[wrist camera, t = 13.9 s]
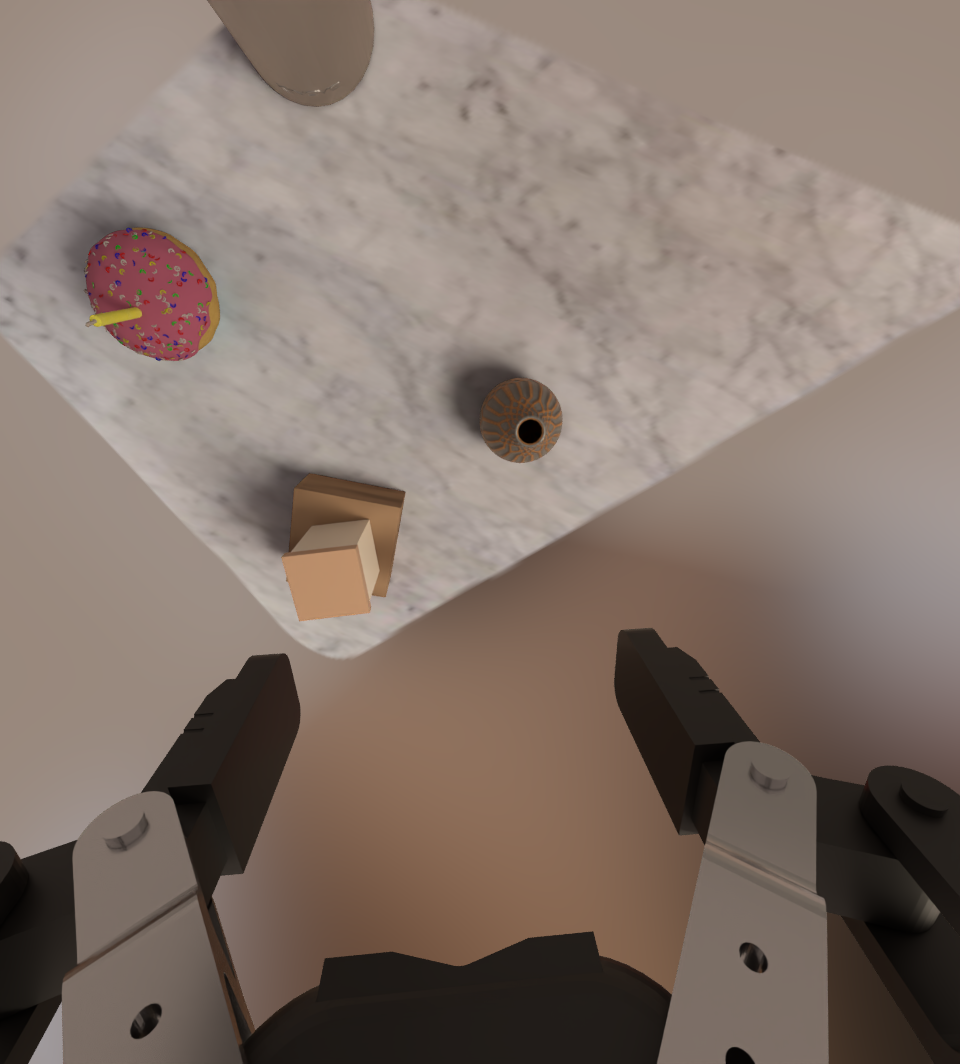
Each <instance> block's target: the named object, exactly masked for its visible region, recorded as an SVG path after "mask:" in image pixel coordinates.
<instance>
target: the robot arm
mask: <svg viewBox="0 0 960 1064" xmlns="http://www.w3.org/2000/svg"><path fill="white" fill-rule="evenodd" d="M207 1H208V2H209V3H210V5H211V6H212V8H213V9H214V10H215V12H216V13H217V15H218V16H219V18H220V19H221V20H222V22H223V23H224V25H225V26H226V28H227V29H228V30H229V32H230V33H231V35H232V36H233V38H234V39H235V41H236V42H237V43H238V45H239V46H240V48H241V49H242V50H243V52H244V53H245V55H246V56H247V58H248V59H249V60H250V62H251V63H252V65H253V66H254V67H255V69H256V70H257V71H258V73H259V74H260V75H261V77H262V78H263V79H264V81H266V82H267V83H268V84H269V85H270V86H271V87H272V88H273V89H274V90H275V91H276V92H278V93H279V94H281V95H282V96H284V97H285V98H287V99H289V100H290V101H293V102H296V103H299V104H301V105H306V106H315V107H319V106H325V105H331V104H333V103H335V102H337V101H340V100H342V99H344V98H345V97H346V96H347V95H348V94H350V93H351V92H352V91H353V90H354V89H355V88H356V86H357V85H358V84H359V82H360V81H361V80H362V78H363V76H364V74H365V72H366V70H367V67H368V65H369V62H370V58H371V54H372V50H373V41H374V21H373V11H372V6H371V1H370V0H207ZM614 687H615V695H616V699H617V703H618V706H619V708H620V711H621V713H622V715H623V717H624V719H625V721H626V723H627V726H628V728H629V730H630V732H631V734H632V736H633V738H634V740H635V743H636V745H637V747H638V749H639V751H640V753H641V755H642V758H643V759H644V762H645V764H646V766H647V768H648V770H649V773H650V775H651V776H652V779H653V781H654V783H655V785H656V787H657V790H658V792H659V794H660V796H661V798H662V800H663V802H664V804H665V807H666V809H667V811H668V813H669V815H670V817H671V819H672V822H673V824H674V826H675V828H676V830H677V832H678V834H679V835H690V834H699V835H700V837H701V839H702V841H703V843H704V845H705V848H704V852H703V857H702V861H701V866H700V870H699V876H698V880H697V885H696V889H695V893H694V898H693V902H692V907H691V912H690V916H689V920H688V925H687V930H686V934H685V939H684V943H683V948H682V952H681V957H680V962H679V966H678V970H677V975H676V980H675V984H674V989H673V993H672V994H670V993H669V992H668V991H667V990H666V989H664V988H663V987H662V986H661V985H660V984H658V983H657V982H655V981H654V980H652V979H651V978H649V977H648V976H646V975H645V974H644V973H642V972H640V971H638V970H636V969H634V968H632V967H630V966H629V965H627V964H624V963H621V962H619V961H616V960H613V959H611V958H607V957H603V956H599V953H598V949H597V945H596V941H595V937H594V933H593V932H583V933H574V934H564V935H553V936H544V937H534V938H527V939H525V940H523V941H521V942H518V943H516V944H514V945H511V946H509V947H507V948H505V949H502V950H500V951H498V952H495V953H493V954H491V955H489V956H486V957H484V958H482V959H479V960H477V961H475V962H472V963H470V964H468V965H465V966H452V965H448V964H444V963H439V962H435V961H430V960H426V959H422V958H417V957H413V956H409V955H404V954H399V953H395V952H386V953H385V952H384V953H376V954H365V955H354V956H345V957H334V958H326V959H325V961H324V966H323V970H322V975H321V980H320V985H319V986H316V987H314V988H312V989H310V990H308V991H306V992H305V993H303V994H301V995H300V996H298V997H296V998H294V999H293V1000H292V1001H290V1002H289V1003H287V1004H286V1005H285V1006H283V1007H282V1008H280V1009H279V1010H278V1011H276V1012H275V1013H274V1014H273V1015H272V1016H271V1017H270V1018H269V1019H267V1020H266V1021H265V1022H264V1023H263V1024H262V1025H261V1026H260V1027H259V1028H257V1029H256V1030H255V1027H254V1024H253V1021H252V1018H251V1015H250V1013H249V1010H248V1008H247V1004H246V1002H245V999H244V996H243V993H242V990H241V986H240V983H239V980H238V977H237V974H236V970H235V967H234V964H233V960H232V957H231V954H230V950H229V948H228V944H227V941H226V937H225V934H224V931H223V928H222V924H221V921H220V918H219V915H218V911H217V908H216V905H215V902H214V899H213V897H212V894H213V892H214V890H215V887H216V885H217V882H218V880H219V878H220V876H222V875H233V874H243V873H244V870H245V868H246V865H247V863H248V860H249V857H250V855H251V852H252V850H253V847H254V844H255V842H256V839H257V837H258V834H259V831H260V829H261V826H262V824H263V821H264V818H265V816H266V813H267V811H268V808H269V805H270V803H271V800H272V797H273V795H274V792H275V790H276V787H277V785H278V782H279V779H280V777H281V774H282V771H283V769H284V766H285V764H286V761H287V758H288V756H289V753H290V751H291V748H292V746H293V743H294V740H295V738H296V735H297V732H298V729H299V724H300V703H299V699H298V695H297V690H296V686H295V682H294V678H293V673H292V669H291V665H290V661H289V658H288V656H287V655H286V654H269V655H256V656H251V657H250V658H249V659H248V660H247V661H246V663H245V665H244V666H243V668H242V669H241V671H240V673H239V674H238V676H237V678H236V679H227V680H225V681H224V682H223V683H222V684H221V685H219V686H218V687H217V688H216V689H215V690H213V691H212V692H211V693H210V694H209V695H207V696H206V698H205V699H204V701H203V702H202V704H201V705H200V707H199V708H198V710H197V711H196V712H195V714H194V718H191V720H190V721H189V723H188V724H187V726H186V727H185V729H184V733H183V734H181V735H180V736H179V737H178V739H177V740H176V742H175V743H174V745H173V747H172V748H171V749H170V751H169V752H168V754H167V755H166V757H165V758H164V760H163V761H162V762H161V764H160V765H159V767H158V768H157V770H156V771H155V773H154V774H153V776H152V777H151V779H150V780H149V782H148V783H147V785H146V786H145V788H144V789H143V790H142V792H141V793H140V794H136V795H133V796H131V797H128V798H126V799H124V800H121V801H120V802H118V803H116V804H114V805H113V806H111V807H110V808H108V809H107V810H105V811H104V812H103V813H101V814H100V815H99V816H98V817H97V818H96V819H94V820H93V821H92V822H91V823H90V824H89V825H88V827H87V828H86V829H85V830H84V831H83V833H82V834H81V835H80V837H79V839H78V840H75V841H73V842H70V843H67V844H64V845H61V846H58V847H55V848H53V849H50V850H46V851H44V852H41V853H38V854H35V855H32V856H29V857H26V858H23V859H20V857H19V856H18V854H17V853H16V851H15V849H14V848H13V847H12V846H11V845H10V844H8V843H6V842H1V841H0V1064H28V1063H29V1061H30V1059H31V1057H32V1055H33V1054H34V1052H35V1049H36V1048H37V1046H38V1044H39V1042H40V1041H41V1039H42V1037H43V1035H44V1033H45V1031H46V1030H47V1028H48V1026H49V1024H50V1022H51V1020H52V1018H53V1017H54V1015H55V1013H56V1011H57V1009H58V1007H59V1005H60V1004H61V1002H62V1027H63V1064H828V985H827V915H826V912H829V913H833V914H837V915H841V917H842V918H843V920H844V922H845V923H846V925H847V926H848V928H849V930H850V931H851V933H852V934H853V936H854V937H855V939H856V941H857V942H858V944H859V945H860V947H861V948H862V950H863V952H864V953H865V955H866V957H867V958H868V960H869V961H870V963H871V964H872V966H873V968H874V969H875V971H876V972H877V974H878V975H879V977H880V979H881V980H882V982H883V984H884V985H885V987H886V988H887V990H888V991H889V993H890V995H891V996H892V998H893V999H894V1001H895V1003H896V1004H897V1006H898V1007H899V1009H900V1011H901V1012H902V1014H903V1015H904V1017H905V1018H906V1020H907V1022H908V1023H909V1025H910V1026H911V1028H912V1030H913V1031H914V1033H915V1034H916V1036H917V1038H918V1039H919V1041H920V1042H921V1044H922V1045H923V1047H924V1049H925V1050H926V1052H927V1053H928V1055H929V1057H930V1058H931V1060H932V1061H933V1063H934V1064H960V795H958V794H957V793H956V792H954V791H953V790H951V789H950V788H949V787H947V786H946V785H944V784H943V783H941V782H939V781H937V780H936V779H934V778H932V777H930V776H927V775H925V774H923V773H920V772H918V771H915V770H912V769H908V768H904V767H898V766H881V767H877V768H875V769H873V770H872V771H871V772H870V773H869V776H868V778H867V781H866V783H865V785H859V784H854V783H848V782H843V781H838V780H832V779H827V778H822V777H817V776H813V775H811V774H810V773H809V772H808V770H807V769H806V768H805V767H804V766H803V765H802V764H801V763H800V762H799V761H798V760H796V759H795V758H794V757H792V756H791V755H789V754H788V753H786V752H784V751H782V750H780V749H778V748H776V747H774V746H771V745H768V744H764V743H760V741H759V740H758V739H757V737H756V736H755V735H754V734H753V732H752V731H751V730H750V729H749V727H748V726H747V725H746V723H745V722H744V721H743V720H742V718H741V717H740V716H739V714H738V713H737V712H736V711H735V709H734V708H733V707H732V705H731V704H730V703H729V702H728V700H727V699H726V698H725V696H724V695H723V694H722V693H719V689H718V688H717V686H716V685H715V684H714V682H713V681H712V680H711V679H709V677H708V675H707V673H706V672H705V671H704V670H703V668H702V667H701V666H700V665H699V663H698V662H697V661H696V660H695V659H694V658H692V657H691V656H689V655H688V654H686V653H685V652H683V651H682V650H681V649H679V648H678V647H673V648H667V646H666V645H665V644H664V643H663V641H662V640H661V638H660V637H659V635H658V634H657V633H656V631H655V630H654V629H652V628H643V629H629V630H621V631H620V632H619V635H618V642H617V654H616V666H615V678H614ZM940 912H941V913H940ZM944 917H945V918H944ZM948 922H949V923H948ZM952 927H953V928H954V929H953V928H952ZM957 933H958V934H957Z"/></svg>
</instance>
